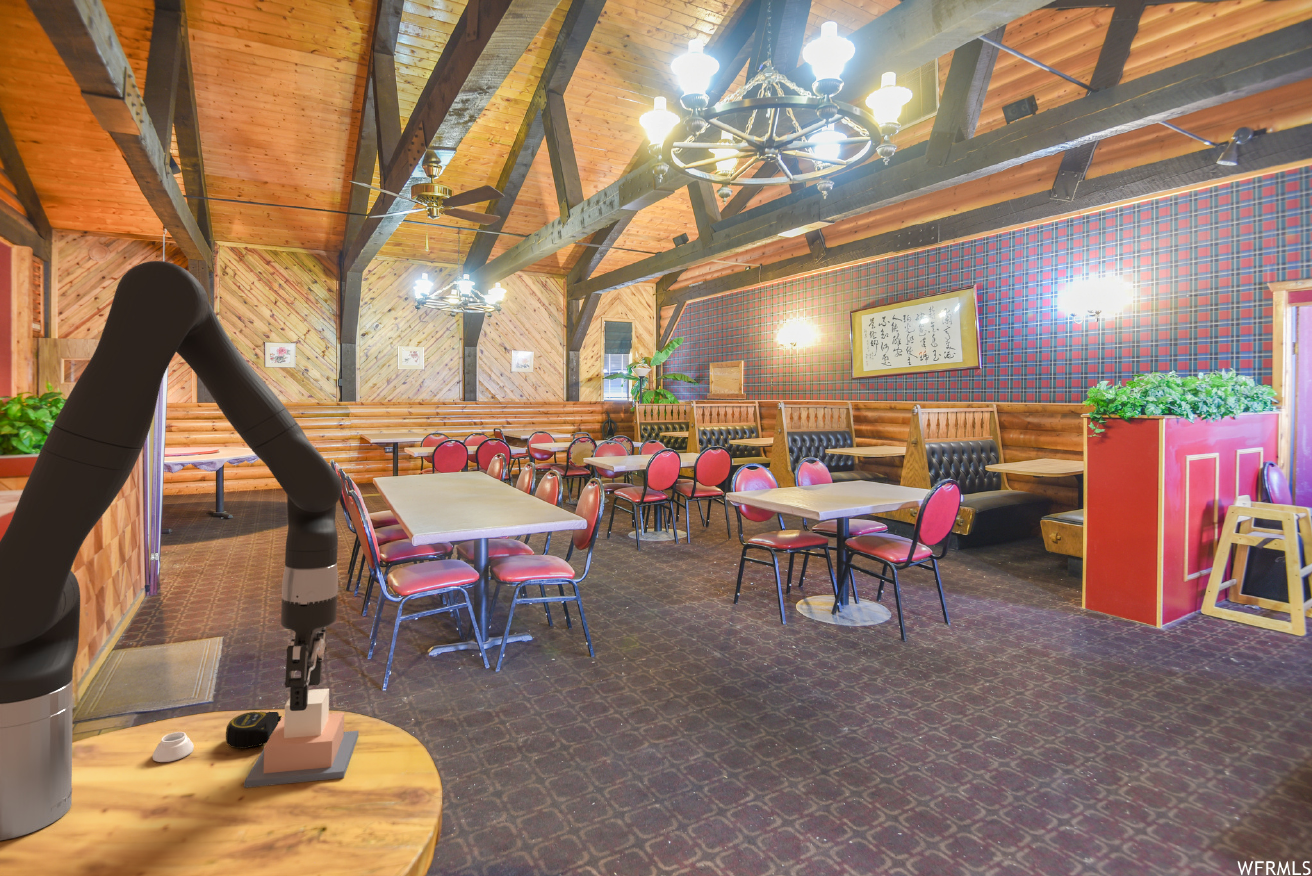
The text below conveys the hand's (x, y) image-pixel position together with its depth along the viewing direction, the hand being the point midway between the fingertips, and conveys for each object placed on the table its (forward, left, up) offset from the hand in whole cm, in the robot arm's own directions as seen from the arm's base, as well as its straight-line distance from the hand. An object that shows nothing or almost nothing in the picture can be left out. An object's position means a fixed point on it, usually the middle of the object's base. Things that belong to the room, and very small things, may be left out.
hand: (305, 696), depth 98 cm
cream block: (0, 0, -5) cm, 5 cm away
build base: (0, 0, -10) cm, 10 cm away
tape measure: (-9, +8, -10) cm, 16 cm away
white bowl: (-19, +5, -10) cm, 23 cm away
